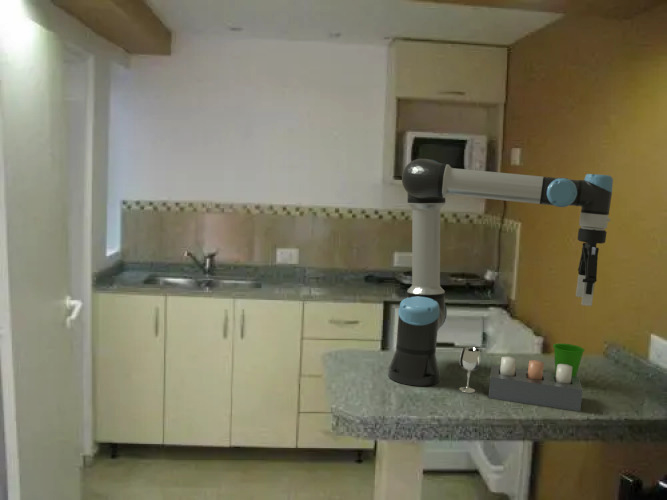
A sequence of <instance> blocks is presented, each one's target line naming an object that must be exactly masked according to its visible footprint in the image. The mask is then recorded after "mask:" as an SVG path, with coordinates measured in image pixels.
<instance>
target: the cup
mask: <svg viewBox="0 0 667 500" xmlns="http://www.w3.org/2000/svg"><path fill="white" fill-rule="evenodd" d="M552 347H553V349H554V351H553V353H554V369H555V370H554V371H555V373H556V371H557V364H566V365H570V366H572V376H576V377H577V373H578V370H579V366H580V363H581V360H582V358H583V357H582V356H583V354H584V352H585V348H584V347H581V346H580V345H575V344H571V343H554V344H553V345H552Z"/></svg>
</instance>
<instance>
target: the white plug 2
mask: <svg viewBox="0 0 667 500" xmlns="http://www.w3.org/2000/svg"><path fill="white" fill-rule="evenodd" d="M555 374H556V380H555V382H558V383H565V384H571V376H572V366H570V365H566V364H557V371H556V372H555Z"/></svg>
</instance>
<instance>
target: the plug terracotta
mask: <svg viewBox="0 0 667 500" xmlns="http://www.w3.org/2000/svg"><path fill="white" fill-rule="evenodd" d="M544 366H545V363H544V361H541V360H537V359H536V360H535V359H533V360H531V359H530V360H529V361H528V367H527V368H528V369H527V370H528V376H527V378H530V379H537V380H542V377H543V372H544V368H545V367H544Z"/></svg>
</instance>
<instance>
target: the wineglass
mask: <svg viewBox="0 0 667 500" xmlns="http://www.w3.org/2000/svg"><path fill="white" fill-rule="evenodd" d="M459 366H460V367H461V369H463V370H464V371H466V378H467V379H466V385H465V386H462V387H459V391H460V392H464V393H467V394H468V393H469V394H473V393H475V392H476V390H475V389H474V388H472V387H470V385H469V384H470V378H471V372H475V371H477V370H478V369H479V368H480V366H481V352H480V349H479V348H476V347H472V346H465V347H462V349H461V352H460V356H459Z"/></svg>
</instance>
